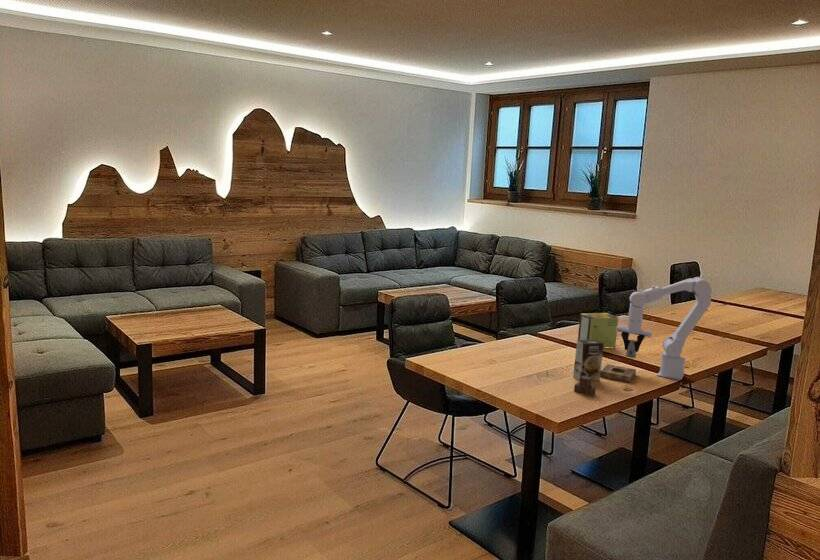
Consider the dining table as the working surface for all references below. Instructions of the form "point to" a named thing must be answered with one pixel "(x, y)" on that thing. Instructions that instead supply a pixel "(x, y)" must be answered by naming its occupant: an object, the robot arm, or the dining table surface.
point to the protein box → (598, 328)
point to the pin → (631, 348)
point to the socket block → (618, 373)
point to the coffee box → (588, 359)
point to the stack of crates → (585, 386)
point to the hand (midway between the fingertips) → (631, 350)
